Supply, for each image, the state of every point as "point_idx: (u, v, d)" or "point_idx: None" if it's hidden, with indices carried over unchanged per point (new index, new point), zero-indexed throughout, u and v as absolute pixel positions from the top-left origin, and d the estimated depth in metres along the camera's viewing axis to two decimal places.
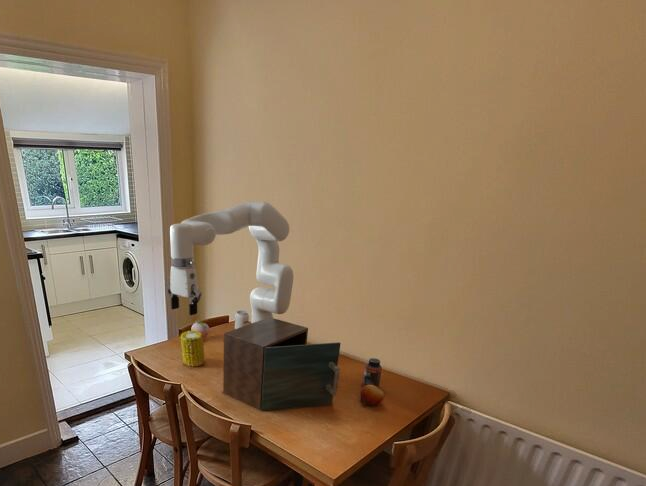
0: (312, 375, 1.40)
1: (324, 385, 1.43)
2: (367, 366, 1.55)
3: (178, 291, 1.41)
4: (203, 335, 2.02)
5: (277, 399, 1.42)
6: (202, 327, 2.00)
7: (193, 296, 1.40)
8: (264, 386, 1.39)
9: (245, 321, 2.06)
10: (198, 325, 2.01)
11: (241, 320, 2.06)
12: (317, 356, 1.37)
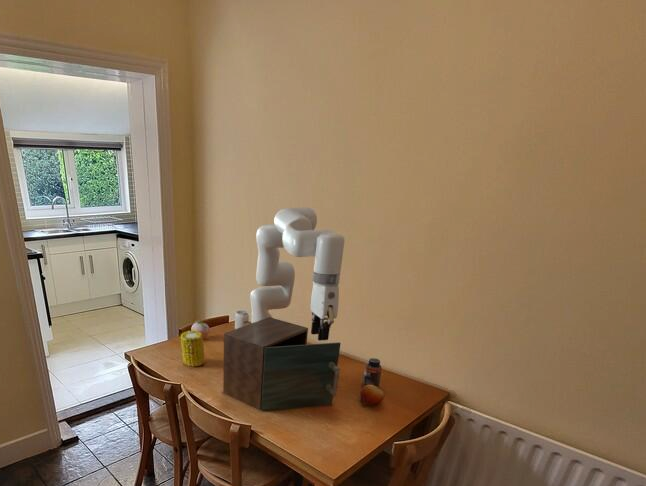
0: (312, 375, 1.40)
1: (324, 385, 1.43)
2: (367, 366, 1.55)
3: (315, 310, 1.23)
4: (203, 335, 2.02)
5: (277, 399, 1.42)
6: (202, 327, 2.00)
7: (328, 319, 1.22)
8: (264, 386, 1.39)
9: (245, 321, 2.06)
10: (198, 325, 2.01)
11: (241, 320, 2.06)
12: (317, 356, 1.37)
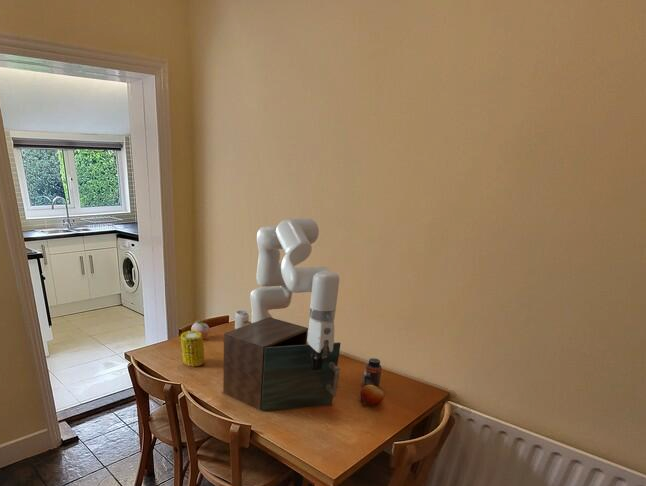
0: (312, 375, 1.40)
1: (324, 385, 1.43)
2: (367, 366, 1.55)
3: (312, 343, 1.28)
4: (203, 335, 2.02)
5: (277, 399, 1.42)
6: (202, 327, 2.00)
7: None
8: (264, 386, 1.39)
9: (245, 321, 2.06)
10: (198, 325, 2.01)
11: (241, 320, 2.06)
12: None
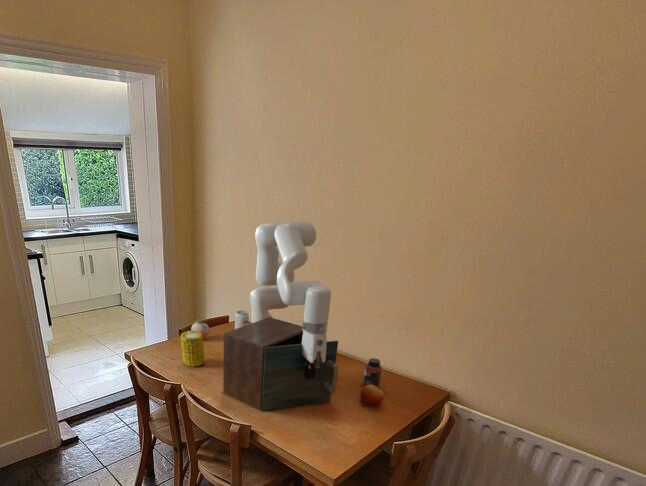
0: None
1: (322, 383, 1.44)
2: (367, 366, 1.55)
3: (305, 354, 1.34)
4: (203, 335, 2.02)
5: (277, 399, 1.42)
6: (202, 327, 2.00)
7: (315, 361, 1.34)
8: (264, 386, 1.39)
9: (245, 321, 2.06)
10: (198, 325, 2.01)
11: (241, 320, 2.06)
12: None
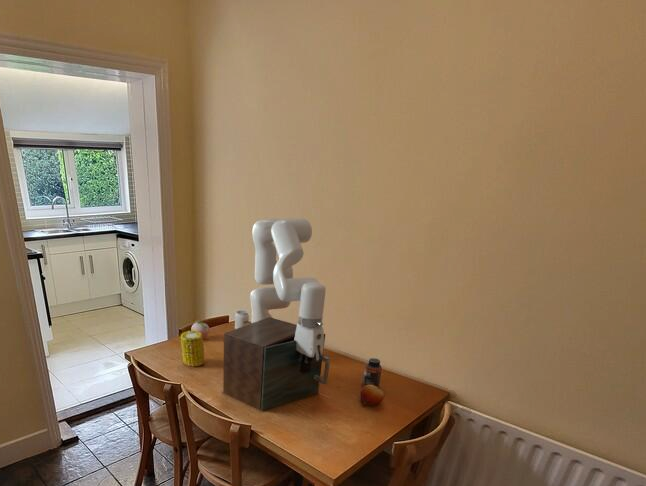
0: None
1: (312, 376, 1.49)
2: (367, 366, 1.55)
3: (302, 349, 1.37)
4: (203, 335, 2.02)
5: (275, 396, 1.44)
6: (202, 327, 2.00)
7: None
8: (264, 386, 1.39)
9: (245, 321, 2.06)
10: (198, 325, 2.01)
11: (241, 320, 2.06)
12: None
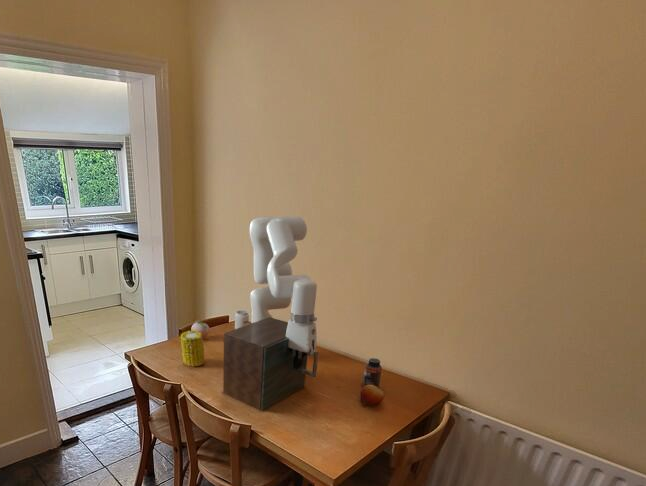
0: None
1: (300, 370, 1.54)
2: (367, 366, 1.55)
3: (295, 345, 1.40)
4: (203, 335, 2.02)
5: (272, 395, 1.45)
6: (202, 327, 2.00)
7: None
8: (264, 386, 1.39)
9: (245, 321, 2.06)
10: (198, 325, 2.01)
11: (241, 320, 2.06)
12: None
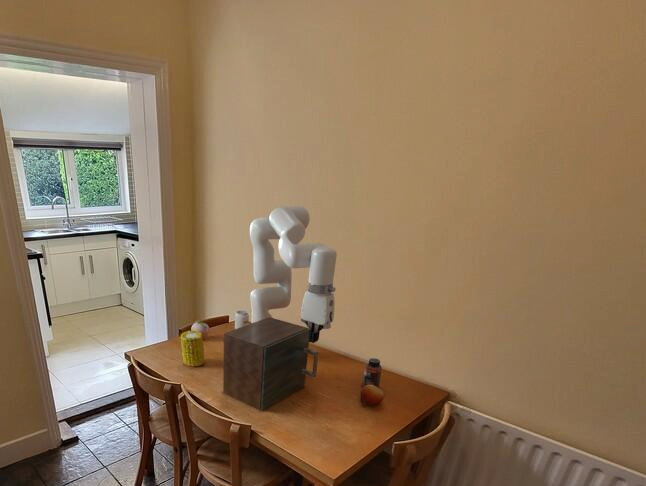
0: (294, 364, 1.49)
1: (300, 370, 1.54)
2: (367, 366, 1.55)
3: (312, 318, 1.33)
4: (203, 335, 2.02)
5: (272, 395, 1.45)
6: (202, 327, 2.00)
7: None
8: (264, 386, 1.39)
9: (245, 321, 2.06)
10: (198, 325, 2.01)
11: (241, 320, 2.06)
12: (297, 345, 1.47)
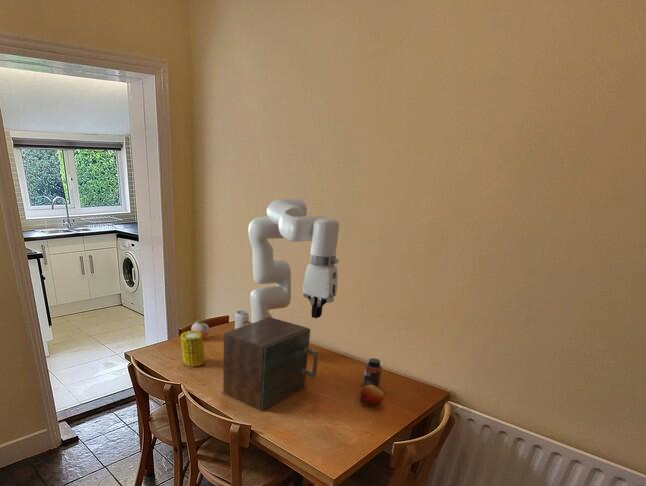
0: (294, 364, 1.49)
1: (300, 370, 1.54)
2: (367, 366, 1.55)
3: (315, 292, 1.31)
4: (203, 335, 2.02)
5: (272, 395, 1.45)
6: (202, 327, 2.00)
7: None
8: (264, 386, 1.39)
9: (245, 321, 2.06)
10: (198, 325, 2.01)
11: (241, 320, 2.06)
12: (297, 345, 1.47)
